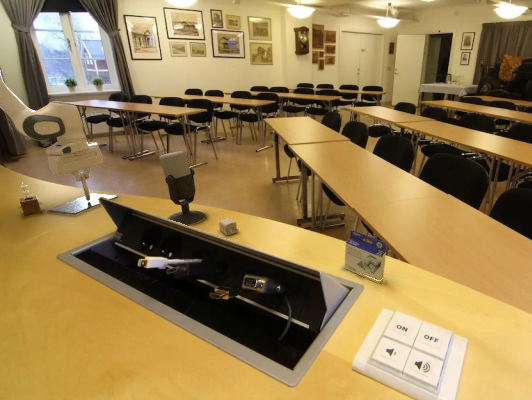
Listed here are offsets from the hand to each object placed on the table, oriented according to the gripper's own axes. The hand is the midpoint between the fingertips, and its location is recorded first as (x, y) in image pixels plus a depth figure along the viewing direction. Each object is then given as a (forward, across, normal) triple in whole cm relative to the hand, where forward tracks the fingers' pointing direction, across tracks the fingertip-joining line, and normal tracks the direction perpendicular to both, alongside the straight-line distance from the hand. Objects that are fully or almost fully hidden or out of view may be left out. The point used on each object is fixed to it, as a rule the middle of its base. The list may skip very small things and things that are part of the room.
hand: (83, 179), depth 128 cm
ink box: (+10, +25, +114) cm, 117 cm away
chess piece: (+10, +8, -20) cm, 24 cm away
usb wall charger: (+10, +11, +68) cm, 70 cm away
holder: (+10, +14, -11) cm, 20 cm away
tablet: (+10, +2, 0) cm, 10 cm away
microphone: (+10, +4, +47) cm, 49 cm away
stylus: (+9, 0, 0) cm, 9 cm away
